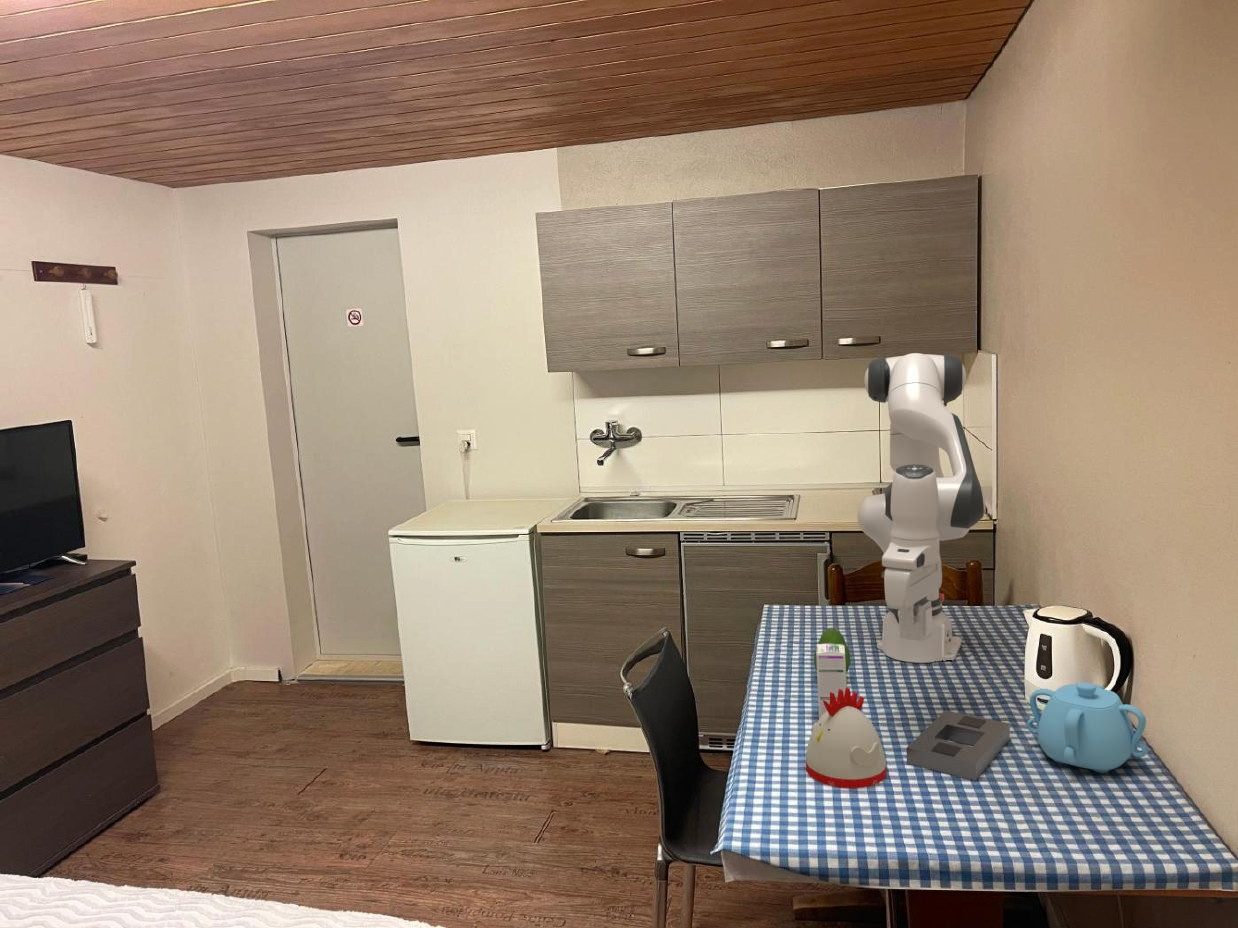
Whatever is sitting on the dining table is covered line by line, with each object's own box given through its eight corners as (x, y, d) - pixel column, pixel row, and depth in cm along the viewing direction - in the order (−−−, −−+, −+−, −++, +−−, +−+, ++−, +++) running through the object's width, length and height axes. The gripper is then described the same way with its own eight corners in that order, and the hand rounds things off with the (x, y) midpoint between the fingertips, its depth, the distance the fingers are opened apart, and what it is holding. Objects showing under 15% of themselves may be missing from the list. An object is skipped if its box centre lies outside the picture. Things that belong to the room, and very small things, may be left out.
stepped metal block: (906, 631, 178) (906, 596, 178) (933, 635, 175) (933, 600, 174) (897, 637, 175) (897, 602, 174) (924, 641, 172) (924, 606, 171)
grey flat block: (945, 724, 177) (945, 709, 177) (1009, 738, 170) (1009, 722, 169) (906, 763, 162) (906, 746, 161) (975, 780, 154) (975, 763, 154)
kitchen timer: (790, 762, 164) (788, 683, 162) (852, 746, 169) (851, 669, 168) (837, 795, 151) (836, 709, 150) (903, 777, 157) (902, 694, 155)
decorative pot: (1156, 779, 152) (1159, 701, 150) (1058, 780, 153) (1060, 703, 151) (1109, 738, 168) (1111, 667, 167) (1020, 739, 169) (1022, 669, 167)
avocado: (836, 688, 198) (835, 635, 197) (807, 680, 204) (806, 628, 203) (857, 679, 203) (857, 627, 202) (828, 671, 209) (827, 620, 208)
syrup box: (848, 723, 180) (847, 652, 178) (817, 721, 181) (816, 652, 179) (846, 711, 186) (845, 643, 184) (817, 710, 187) (816, 642, 185)
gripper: (918, 539, 183) (919, 605, 185) (877, 559, 167) (878, 631, 169) (950, 541, 179) (950, 609, 181) (911, 563, 163) (911, 637, 165)
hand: (915, 620), depth 175 cm, fingers closed on stepped metal block, 4 cm apart
